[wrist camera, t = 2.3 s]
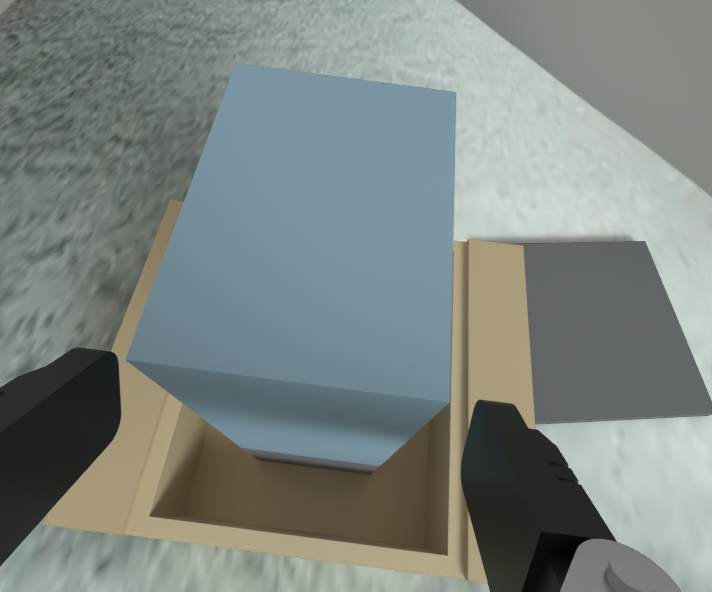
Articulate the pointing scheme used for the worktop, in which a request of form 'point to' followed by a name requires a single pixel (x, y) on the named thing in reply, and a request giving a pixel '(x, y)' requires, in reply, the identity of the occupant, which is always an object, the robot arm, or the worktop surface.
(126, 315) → the kraft carton
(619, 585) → the robot arm
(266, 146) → the slate blue box
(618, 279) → the rubber mat
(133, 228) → the worktop surface
